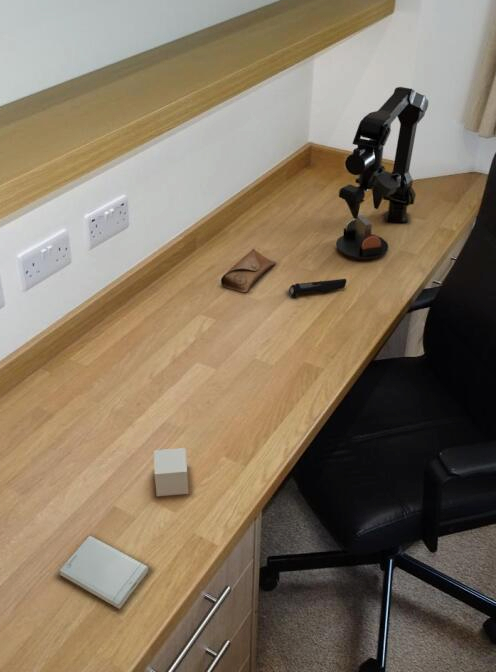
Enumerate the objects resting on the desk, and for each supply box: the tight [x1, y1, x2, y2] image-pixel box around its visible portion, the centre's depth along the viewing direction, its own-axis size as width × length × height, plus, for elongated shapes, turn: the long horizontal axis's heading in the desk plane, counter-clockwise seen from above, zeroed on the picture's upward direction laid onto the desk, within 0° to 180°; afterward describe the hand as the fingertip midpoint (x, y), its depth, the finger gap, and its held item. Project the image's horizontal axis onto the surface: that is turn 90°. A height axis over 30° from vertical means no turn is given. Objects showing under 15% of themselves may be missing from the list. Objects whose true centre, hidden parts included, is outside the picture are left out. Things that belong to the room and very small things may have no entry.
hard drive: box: [59, 535, 149, 610], centre depth 118 cm, size 2×8×12 cm
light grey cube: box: [153, 447, 189, 497], centre depth 133 cm, size 6×6×6 cm
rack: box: [335, 214, 389, 260], centre depth 204 cm, size 15×15×9 cm
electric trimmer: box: [288, 278, 347, 298], centre depth 188 cm, size 4×16×3 cm, turn 100°
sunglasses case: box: [220, 248, 276, 293], centre depth 196 cm, size 18×7×7 cm
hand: (365, 213), depth 201 cm, fingers open, 9 cm apart
